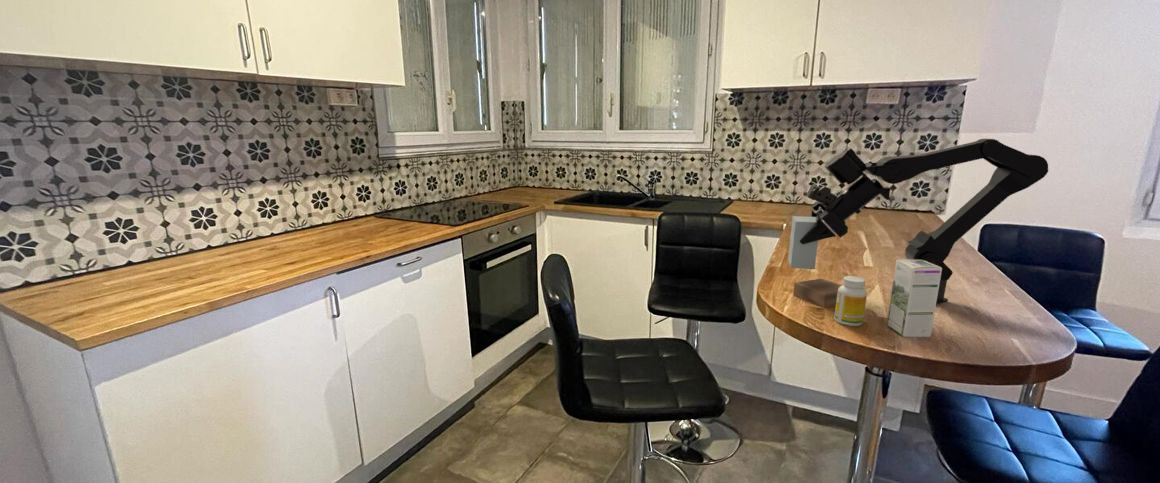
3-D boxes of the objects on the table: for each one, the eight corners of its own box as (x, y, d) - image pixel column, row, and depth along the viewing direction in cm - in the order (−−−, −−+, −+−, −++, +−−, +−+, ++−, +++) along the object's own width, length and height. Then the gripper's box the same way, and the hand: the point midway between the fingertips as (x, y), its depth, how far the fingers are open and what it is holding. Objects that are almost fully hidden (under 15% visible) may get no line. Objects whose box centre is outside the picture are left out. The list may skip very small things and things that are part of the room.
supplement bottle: (828, 318, 106) (833, 276, 103) (847, 315, 107) (852, 273, 105) (849, 328, 101) (855, 283, 98) (868, 324, 102) (875, 281, 100)
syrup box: (932, 337, 96) (945, 266, 93) (901, 337, 96) (913, 266, 93) (913, 325, 102) (924, 258, 98) (884, 325, 102) (895, 258, 98)
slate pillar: (810, 262, 126) (816, 217, 123) (814, 269, 121) (820, 222, 118) (788, 260, 128) (792, 216, 124) (790, 267, 123) (795, 221, 119)
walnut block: (851, 303, 115) (853, 289, 115) (823, 308, 112) (825, 294, 111) (820, 291, 124) (821, 278, 123) (793, 296, 120) (794, 282, 119)
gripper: (824, 170, 126) (774, 210, 132) (838, 177, 109) (780, 223, 114) (854, 201, 125) (803, 240, 131) (873, 214, 108) (813, 258, 114)
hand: (799, 240), depth 123 cm, fingers closed on slate pillar, 6 cm apart
